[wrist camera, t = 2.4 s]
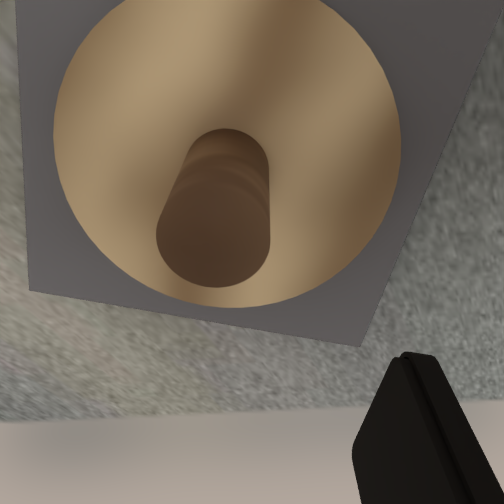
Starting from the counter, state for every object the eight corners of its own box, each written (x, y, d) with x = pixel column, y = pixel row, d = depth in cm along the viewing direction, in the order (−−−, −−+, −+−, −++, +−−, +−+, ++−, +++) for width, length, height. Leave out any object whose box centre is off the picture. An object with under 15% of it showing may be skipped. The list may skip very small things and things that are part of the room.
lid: (451, 19, 16) (547, 41, 10) (340, 318, 22) (364, 428, 17) (59, -71, 15) (-59, -97, 9) (62, 270, 21) (-7, 370, 16)
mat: (506, -21, 16) (514, -20, 15) (358, 339, 24) (360, 347, 23) (17, -140, 15) (8, -144, 14) (34, 283, 23) (29, 290, 22)
